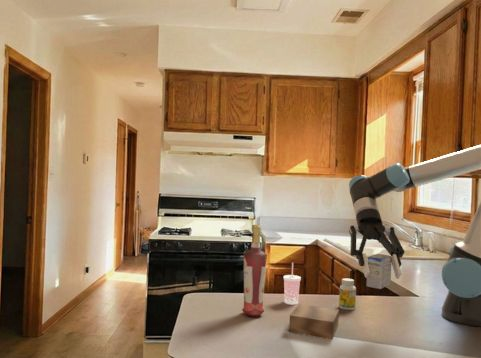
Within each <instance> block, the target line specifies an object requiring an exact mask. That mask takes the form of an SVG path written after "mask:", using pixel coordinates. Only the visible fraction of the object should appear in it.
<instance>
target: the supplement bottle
mask: <svg viewBox="0 0 481 358" xmlns="http://www.w3.org/2000/svg"><path fill="white" fill-rule="evenodd" d="M356 297H357V288H356V286H355V280H354V278H353V279H352V278H348V277H347V278H342V279H341V285H340V286H339V300H338V301H339V303H338V305H339V306H338V307H339V308H340V309H342V310H345V311H346V310H347V311H351V310H352V311H354V310H355V309H356V303H357V301H356V300H357V299H356Z"/></svg>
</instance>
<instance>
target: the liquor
mask: <svg viewBox="0 0 481 358" xmlns="http://www.w3.org/2000/svg"><path fill="white" fill-rule="evenodd" d="M251 227H252V228H251V232H252V237H251V246H250V249H248V250H247V251H245V252H244V253H243V308H241V310H242V312H243V313H244V314H245V315H246V316H247V317H252V318H259V317H260V316H261V315H262V314H263V313H264V312H265V310H264V295H265V283H266V282H265V281H266V271H267V260H268V254H266V252H265V251H264V250H261V236H260V234H261V229H262V227H261V225H260V224H252V225H251Z"/></svg>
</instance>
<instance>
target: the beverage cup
mask: <svg viewBox="0 0 481 358" xmlns="http://www.w3.org/2000/svg"><path fill="white" fill-rule="evenodd" d="M301 281H302V276H299V275H295V274H294V262H291V274H285V275H283V288H284V289H283V290H284V291H283V292H284V293H283V294H284V296H283V297H284V303H285V304H287V305H294V306H295V305H299V294H300V285H301V284H300V283H301Z"/></svg>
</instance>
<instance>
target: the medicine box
mask: <svg viewBox="0 0 481 358" xmlns="http://www.w3.org/2000/svg"><path fill="white" fill-rule="evenodd" d="M391 261H392V256H391V255H390V254H389V255H388V254H383V253H376V254H373V255H369V256H367V262H368V266H369V270H370V274H369V276H368V278H366V287H369V288H374V289H377V290H382V289H383V288H385V287H387V286H389V285H391V281H392V280H391V279H392V262H391Z"/></svg>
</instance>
